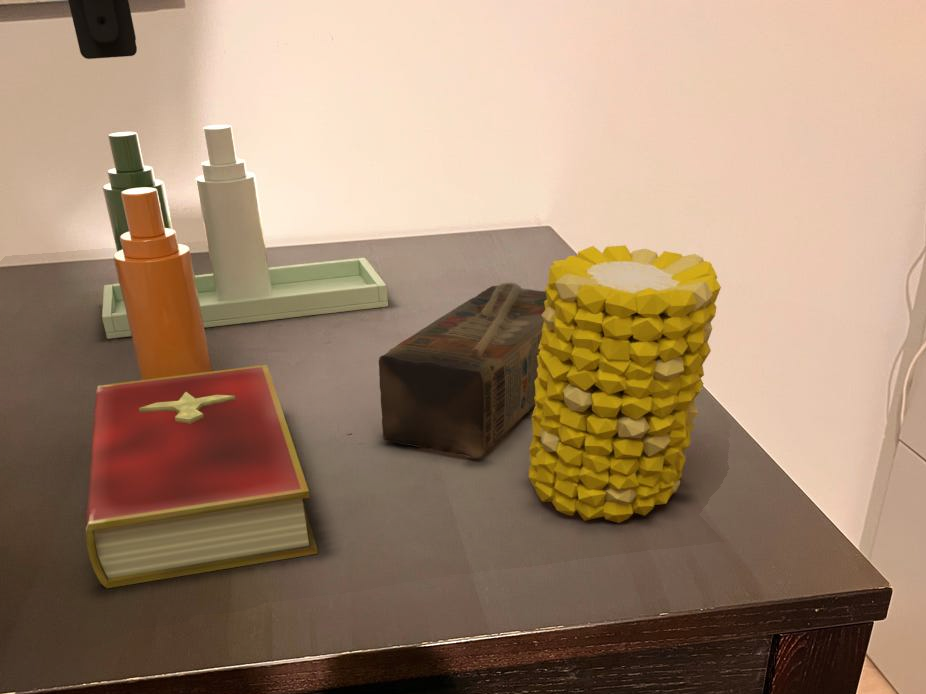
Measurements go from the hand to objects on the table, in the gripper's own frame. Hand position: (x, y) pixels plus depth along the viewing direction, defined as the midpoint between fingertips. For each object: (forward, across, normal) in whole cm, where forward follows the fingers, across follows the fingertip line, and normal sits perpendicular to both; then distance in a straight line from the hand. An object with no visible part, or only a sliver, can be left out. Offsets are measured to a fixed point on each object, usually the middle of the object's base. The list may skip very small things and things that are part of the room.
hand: (111, 50), depth 63 cm
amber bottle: (+23, -1, 0) cm, 23 cm away
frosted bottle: (+23, -24, +7) cm, 33 cm away
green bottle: (+23, -24, -1) cm, 33 cm away
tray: (+23, -24, +7) cm, 34 cm away
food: (+24, +24, +24) cm, 42 cm away
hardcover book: (+24, +15, 0) cm, 28 cm away
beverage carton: (+24, +8, +21) cm, 33 cm away
